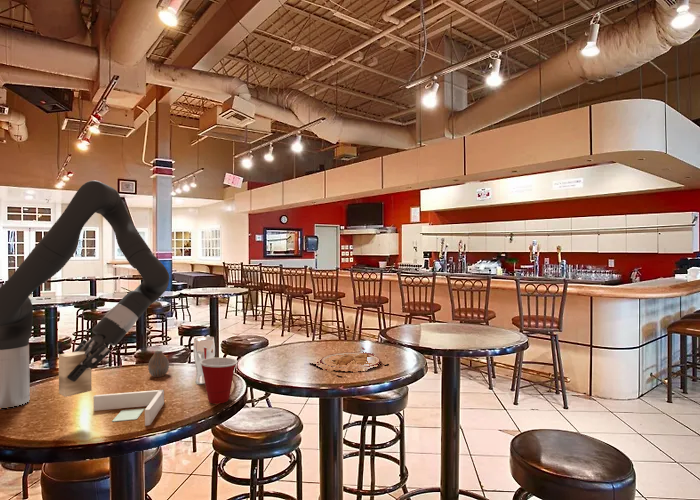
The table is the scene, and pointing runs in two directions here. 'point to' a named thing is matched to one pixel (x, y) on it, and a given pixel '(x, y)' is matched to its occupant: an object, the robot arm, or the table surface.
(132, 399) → the corner arena
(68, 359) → the maple block
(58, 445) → the table surface
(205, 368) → the plastic cup
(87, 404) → the table surface
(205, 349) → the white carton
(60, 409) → the table surface
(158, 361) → the vase
